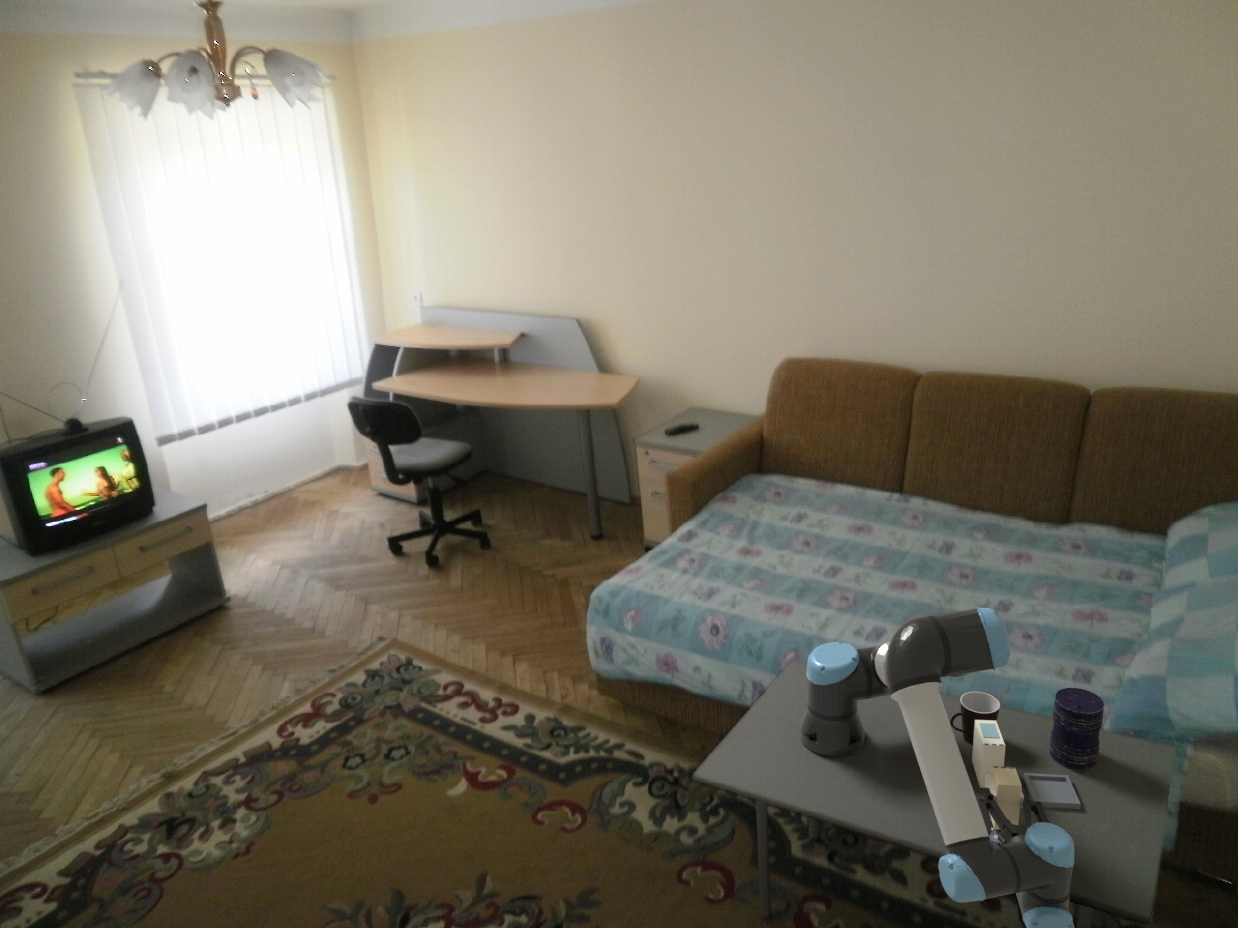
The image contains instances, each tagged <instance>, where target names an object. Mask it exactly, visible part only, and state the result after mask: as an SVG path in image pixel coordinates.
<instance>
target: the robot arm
mask: <svg viewBox="0 0 1238 928" xmlns="http://www.w3.org/2000/svg"><path fill="white" fill-rule="evenodd" d="M1010 656H1011V645H1010V639H1009V635H1008V632H1007V628H1006V626H1005V623H1004V622H1003V619H1002V618H1001V617H1000V616H999V614H998V613H997V612H996V611H995V610H994V609H992V608H990V607H975V608H972V609H971V608H970V609H965V610H960V611H953V612H947V613H939V614H933V615H927V616H918V617H914V618H912V619H908V620H907V621H906V622H904V623H903V624H901V625H900V627H899V628H898V629H897V630H896V631H895V633H893V635H892V637H891V639H890V640H888V641H886V642H884V643H882V644H878V645H874V646H868V647H862V648H855V647H854V645H852V644H850V643H846V642H843V643H841V642H839V641H831V642H827V643H822V644H821V645H819V646H817V647H815V648H814V649H813V650H812V651H811V652H810V653H809V656H807V657H808V658H807V665H806V670H805V671H806V672H805V675H806V708H805V712H804V715H803V717H802V719H801V722H800V724H799V737H800V741H801V743H802V744H803V745H804V746H805V747H806V749H808V750H809V751H811V752H813V753H816V754H818V755H820V756H821V755H822V756H825V757H834V758H838V757H839V758H841V757H847V756H850V755H853V754H856V753H857V752H859V751H860V750H861V749H862V748H863V747H864V746H863V745H864V744H865V737H866V736H865V729H864V725H863V722H862V720H861V717H860V714H859V711H858V702H860V701H864V700H869V699H870V700H871V699H875V698H880V697H881V698H883V697H887V696H890V700H892V701H894V702H896V703H897V704H898V705H899V709H900V712H901V713H902V718H903V720H904V724H905V727H906V729H907V733H908V735H909V739H910V742H911V744H912V748H913V750H914V751H913V752H914V754H915V757H916V760H917V763H918V766H919V769H920V772H921V775H922V779H923V781H924V785H925V789H926V790H927V793H928V796H929V800H930V803H931V805H932V809H933V811H934V815H935V818H936V821H937V824H938V826H939V830H940V833H941V836H942V839H943V842H944V845H945V848H946V851H947V854H944V855H942V856H941V857H940V858H939V861H938V872H939V879H940V882H941V886H942V887H943V889H944V891H945V893H946V894H947V895H948V897H949V898H950V899H951V900H953V901H954V902H957V903H960V904H963V903H969V902H977V901H979V902H982V901H985V900H988V899H992V898H996V897H1000V896H1001V897H1002V896H1006V895H1011V894H1015V895H1016V898H1017V901H1018V906H1019V908H1020V913H1021V916H1022V921H1023V923H1024V925H1025V927H1026V928H1075V925H1074V922H1073V920H1074V918H1073V916H1072V914H1071V912H1070V908H1069V906H1070V898H1071V882H1072V876H1073V869H1074V867H1075V866H1074V865H1075V843H1074V840H1073V838H1072V836H1071V835H1070V834H1069V833H1068V832H1067V831H1066V830H1065V829H1064V828H1062V827H1060V826H1059V825H1056V824H1054V823H1050V819H1049V818H1048V816H1047V813H1046V810H1045V807H1043V805H1042V803H1041V802H1040V801H1036V802H1032V800H1031V798H1030V795H1029V792H1028V790H1026V789H1024V788H1022V790H1021V801H1020V809H1023V824H1018V825H1014V824H1012V823H1011V822H1010V820H1009V819H1007V818H1006V816H1005V815H1004V813H1003V812H1002V810H1001V809H1000V807H999V806H998V804H997V803H996V793H995V790H994V787H993V784H992V781H991V777H990V774H986V777H985V787H986V788H984V787H983V789H982V791H983V792H982V793H983V794H982V795H983V798H981V797H980V798H977V797H976V794H975V791H974V788H973V786H972V783H971V780H970V777H969V774H968V771H967V769H966V764H965V763H964V760H963V757H962V755H961V754H962V753H961V752H960V748H959V745H958V743H957V739H956V737H955V734H954V731H953V727H952V726H951V724H950V720H949V716H948V713H947V711H946V709H945V705H944V702H943V700H942V697H941V690H942V689H943V682H942V679H941V678H946V677H949V678H951V677H952V678H958V677H963V676H967V675H970V674H974V673H978V672H985V671H989V670H993V671H996V670H997V669H1001V668H1004V667H1006V666H1007V665H1008V663H1009V662H1010V661H1009V660H1010V658H1011V657H1010ZM977 799H978V800H977ZM989 813H990V814H991V816H992V818H993V819H994V821H995V822H996V824H997V825H998V827H999V828H1000V833H998V834H997V833H996V831H995V829H994V827H992V826H993V824H992V820H991V817H990V814H989ZM1032 813H1034V816H1035V818H1036V822H1035V823H1033V822H1032ZM1032 823H1033V824H1032ZM993 842H994V843H997V845H993Z"/></svg>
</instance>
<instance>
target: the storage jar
mask: <svg viewBox="0 0 1238 928" xmlns="http://www.w3.org/2000/svg"><path fill="white" fill-rule="evenodd" d="M1054 695H1055V696H1054V703H1053V708H1052V709H1053V712H1052V716H1053V726H1052V730H1051V732H1050V733H1051V734H1050V740H1049V746H1050V747H1049V756H1050V757H1051V759H1052V760H1053V761H1054V762H1055V763H1057V764H1058V765H1060V766H1061V767H1063V768H1066V769H1068V770H1074V771H1081V772H1082V771H1089V770H1092V769H1093V768H1095V767H1096V766H1097V763H1098V757H1099V754H1100V731H1101V729H1102V726H1103V720H1104V707H1105V703H1104V701H1103V699H1102V698H1101V697H1100V696H1099V695H1098V694H1096V693H1095V692H1092V691H1090V690H1087V689H1083V688H1079V687H1078V688H1077V687H1066V688H1065V687H1064V688H1062V689H1059V690H1058V691H1056V693H1055V694H1054Z"/></svg>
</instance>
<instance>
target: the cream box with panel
mask: <svg viewBox="0 0 1238 928" xmlns="http://www.w3.org/2000/svg"><path fill="white" fill-rule="evenodd" d="M1004 741H1005V740H1004V738H1003V735H1002V733H1001V730H1000V727H999V725H998V720H997V721H993V720H975V725H974V739H973V745H972V753H971V755H972V756H971V762H972V765H973V768H974V772H975V775H976V778H977V782H978V785H979V788H983V789H984V788H986V787H985V777H986V774H990V777H991V771H992V767H993V766H998V767H1001V766H1003V767H1005V758H1006V757H1005V756H1006V743H1005V742H1004Z"/></svg>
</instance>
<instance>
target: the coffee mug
mask: <svg viewBox="0 0 1238 928" xmlns="http://www.w3.org/2000/svg"><path fill="white" fill-rule="evenodd" d="M959 703H960V712H957V713H956V714H954V715H952V717H951V718H950V720H949V722H950V725H951V728H952V729H954V730H955V731H957V732H961V733H962V739H963V741H965V743H967V744H968V745H970V746H973V739H974V725H975V720H993V721H997V722H998V718H999V717H998V716H999V713H1000V707H1001V702H1000V701H999V699H997V697H995V696H993V695H991V694H989V693H986V692H982V691H969V692H965V693H963V694H962V695H960V698H959ZM959 716H960V717H961V728H962V729H961V728H959V727H956V726H954V721H955V719H956V718H957V717H959Z"/></svg>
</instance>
